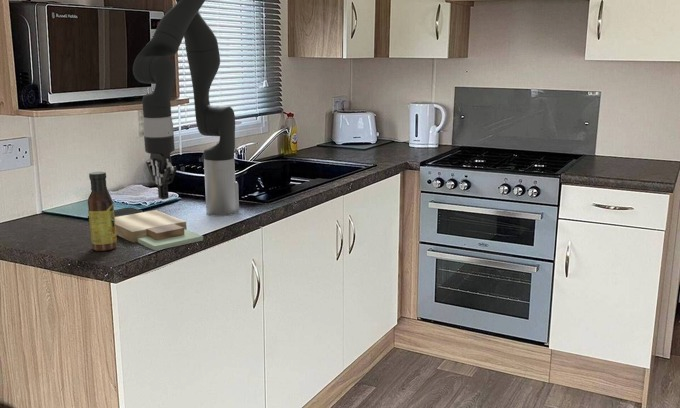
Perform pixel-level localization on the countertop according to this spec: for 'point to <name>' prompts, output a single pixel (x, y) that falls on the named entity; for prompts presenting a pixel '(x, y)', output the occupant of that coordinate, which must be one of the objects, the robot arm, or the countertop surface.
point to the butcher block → (143, 224)
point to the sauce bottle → (101, 214)
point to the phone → (126, 211)
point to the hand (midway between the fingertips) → (163, 198)
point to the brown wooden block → (165, 231)
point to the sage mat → (170, 240)
